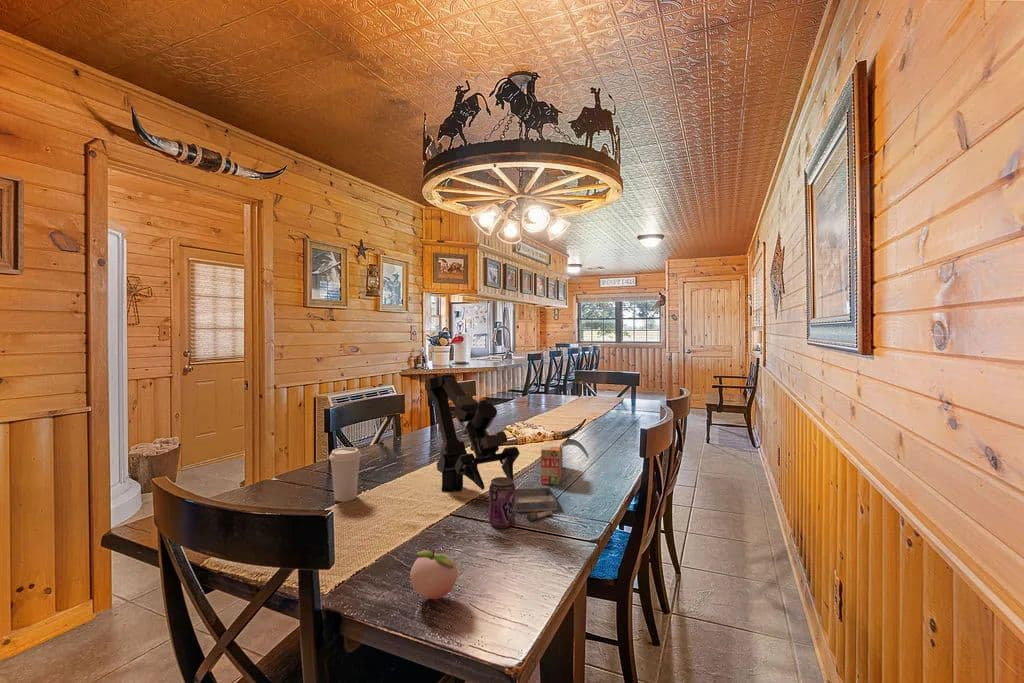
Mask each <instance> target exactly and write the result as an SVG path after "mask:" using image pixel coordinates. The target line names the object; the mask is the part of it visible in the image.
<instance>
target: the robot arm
mask: <svg viewBox="0 0 1024 683" xmlns="http://www.w3.org/2000/svg"><path fill="white" fill-rule="evenodd" d="M424 390H425V392H426V394H427V397H428V399H430V401H432V403H433V404H434V407H435V411H436V417H437V421H438V426H439V430H440V435H441V438H442V446H441V448H440V452H439V453H440V457H439V459H438V461H437V462H436V469H437V471H438V472H439V473H441V492H461V491H462V488H463V487H464V476H465V477H467V478H468V479H469V480H470V481H472V482H473V483H474V484H475V485H476V486H478V487H479V489H481V491H484V490H485V484H484V481H483V479H482V476H481V473H480V471H479V468H478V465H480V464H481V465H482V464H487V463H491V462H492V463H494V462H497V461H499V462H500V464H501V469H502V471H503V472H504V475H505V476H506V477H507V478H511V479H513V480H514V463H515V462H516V460H517V459H518V457H519V456H520V454H521V453H520V451H519V448H518V447H517V446H510V447H504V448H503V450H502V452H501V453H496V452H499V450H500V448H499V447H503V446H504V444H505V443H507V442H508V436H507V434H506V432H505V431H498V432H497V433H496V434H489V432H488V430H487V429H488V428H490V427H491V425H492V423H493V422H494V420H495V418H496V416H497V415H498V410H497V408H496V406H494V405H493V404H491V403H489V402H488V401H487V399H480V400H479V401H477V400H476V399H475V398H472V397H471V396H468V394H467V393H466V392H465V391H464V389H463V388H462V387H461V385H460V384H459V382H458V381H457V379H456V375H455V374H452V373H445V374H444V373H443V374H440V375H438V376H435V377H428V378H427V380H426V381H425V382H424ZM449 398H450V400H451V402H452V403H453V405H454V408H455V409H454V415H455V417H456V419H457V420H458V422H460V423H466V425H465V429H464V431H463V434H464V435H467V437H468V439H469V442H470V445H471V446H470V448H469V449H470V450H471V451H473V453H467V449H466V446H465V442H464V441H461V440H459V439H458V437H457V433H456V428H455V424H454V419H453V415H452V411H451V408H450V402H449Z"/></svg>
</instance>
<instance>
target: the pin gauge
mask: <svg viewBox="0 0 1024 683" xmlns="http://www.w3.org/2000/svg"><path fill="white" fill-rule="evenodd" d="M552 514H553V510H547V511H540V512H537V511H532V512H530V513H527V514H526V520H527V521H528V522H533V521H536V520H538V519H542V518H545V517H549V516H551V515H552Z"/></svg>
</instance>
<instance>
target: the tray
mask: <svg viewBox="0 0 1024 683" xmlns="http://www.w3.org/2000/svg"><path fill="white" fill-rule="evenodd" d="M558 502H559V501H558V499H557V498H556V497H555V495H554V493H553V491H552V489H551V488H550V487H532V488H531V487H529V488H528V487H527V488H515V513H516V512H517V513H520V512H522V513H524V512H544V511H547V510H552V511H558V508H559V507H558V504H559V503H558Z"/></svg>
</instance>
